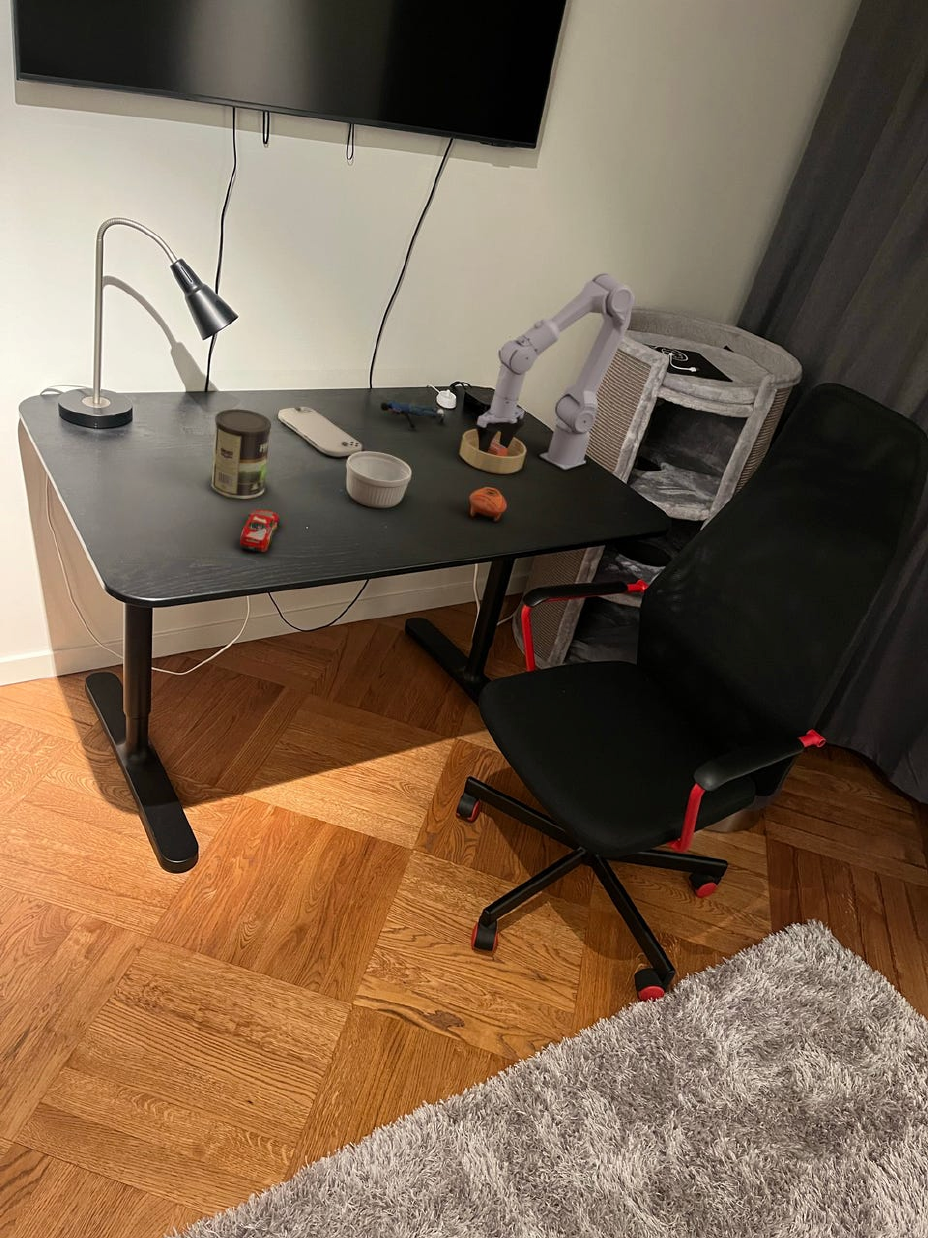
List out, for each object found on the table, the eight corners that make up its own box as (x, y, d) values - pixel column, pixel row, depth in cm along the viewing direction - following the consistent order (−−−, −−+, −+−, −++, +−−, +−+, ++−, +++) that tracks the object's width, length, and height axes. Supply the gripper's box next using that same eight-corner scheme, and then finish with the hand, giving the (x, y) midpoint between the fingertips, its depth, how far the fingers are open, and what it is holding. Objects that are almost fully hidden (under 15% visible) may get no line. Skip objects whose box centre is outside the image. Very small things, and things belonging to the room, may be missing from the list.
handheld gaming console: (273, 406, 208) (309, 402, 214) (272, 417, 209) (308, 413, 216) (331, 449, 195) (368, 444, 202) (329, 461, 197) (366, 455, 203)
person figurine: (428, 417, 234) (367, 408, 223) (433, 400, 232) (372, 391, 221) (449, 435, 226) (387, 427, 216) (455, 418, 224) (392, 410, 214)
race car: (252, 516, 171) (254, 497, 169) (281, 522, 171) (283, 504, 169) (234, 550, 160) (236, 530, 158) (265, 557, 160) (267, 537, 158)
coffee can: (267, 479, 184) (274, 414, 176) (261, 503, 176) (267, 435, 168) (215, 470, 182) (219, 404, 175) (206, 494, 174) (210, 425, 166)
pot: (463, 501, 194) (477, 475, 191) (496, 516, 196) (510, 490, 192) (462, 518, 187) (477, 490, 184) (496, 533, 189) (511, 506, 185)
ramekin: (415, 495, 192) (421, 465, 189) (390, 518, 182) (396, 487, 178) (358, 474, 195) (363, 444, 191) (331, 496, 184) (335, 465, 180)
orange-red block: (487, 451, 218) (491, 437, 216) (505, 461, 215) (508, 447, 213) (476, 454, 215) (480, 440, 213) (494, 464, 213) (498, 450, 211)
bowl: (487, 441, 224) (491, 424, 222) (534, 467, 217) (539, 450, 215) (445, 452, 214) (449, 434, 211) (494, 480, 207) (498, 462, 204)
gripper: (499, 406, 200) (486, 462, 207) (539, 397, 210) (524, 451, 217) (476, 394, 203) (463, 449, 211) (516, 386, 213) (502, 439, 221)
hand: (493, 449), depth 214 cm, fingers open, 7 cm apart
